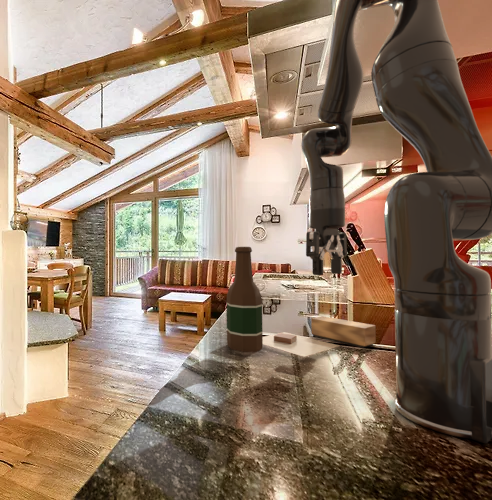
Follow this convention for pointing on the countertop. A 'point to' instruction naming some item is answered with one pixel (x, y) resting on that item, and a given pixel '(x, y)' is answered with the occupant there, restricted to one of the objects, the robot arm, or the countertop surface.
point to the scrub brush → (344, 331)
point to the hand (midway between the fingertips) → (327, 274)
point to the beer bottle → (244, 307)
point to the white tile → (299, 345)
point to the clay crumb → (285, 338)
